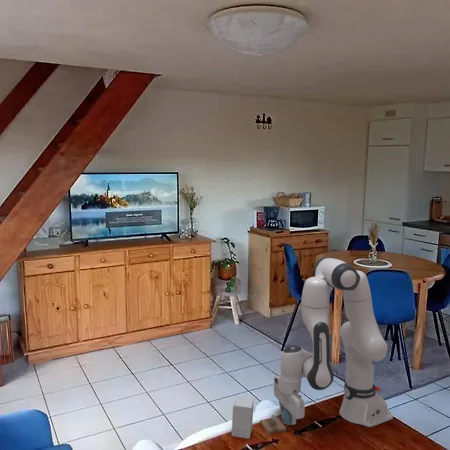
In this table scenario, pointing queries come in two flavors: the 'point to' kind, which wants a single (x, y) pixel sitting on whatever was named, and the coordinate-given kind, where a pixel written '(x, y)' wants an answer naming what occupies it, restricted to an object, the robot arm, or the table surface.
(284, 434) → the table surface
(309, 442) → the table surface
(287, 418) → the teal cap
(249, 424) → the supplement box
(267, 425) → the post base
